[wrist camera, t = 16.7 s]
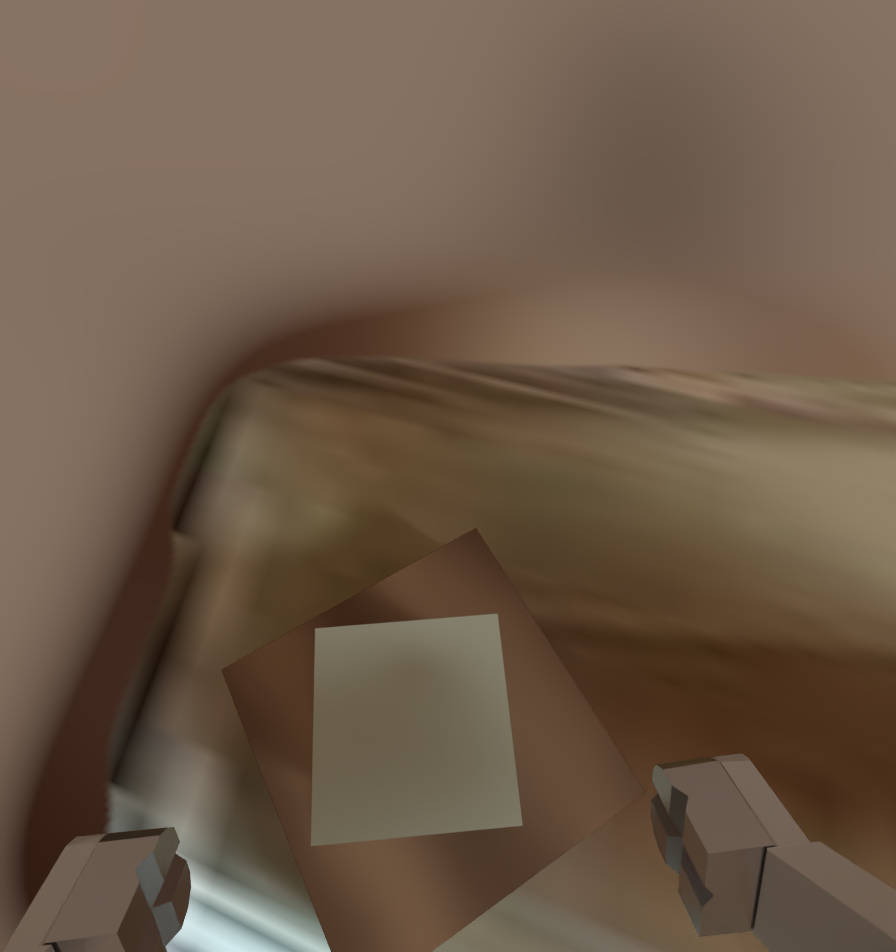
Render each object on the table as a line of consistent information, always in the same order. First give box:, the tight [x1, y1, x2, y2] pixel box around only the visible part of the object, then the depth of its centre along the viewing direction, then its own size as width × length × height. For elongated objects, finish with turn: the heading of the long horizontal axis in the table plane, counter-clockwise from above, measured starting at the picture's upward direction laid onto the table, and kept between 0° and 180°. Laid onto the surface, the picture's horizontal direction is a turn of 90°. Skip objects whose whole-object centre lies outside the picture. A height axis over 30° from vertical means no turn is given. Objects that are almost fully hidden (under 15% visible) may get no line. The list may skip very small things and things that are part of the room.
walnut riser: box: [222, 528, 646, 952], centre depth 24 cm, size 12×12×6 cm
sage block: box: [311, 614, 523, 846], centre depth 18 cm, size 6×6×8 cm
